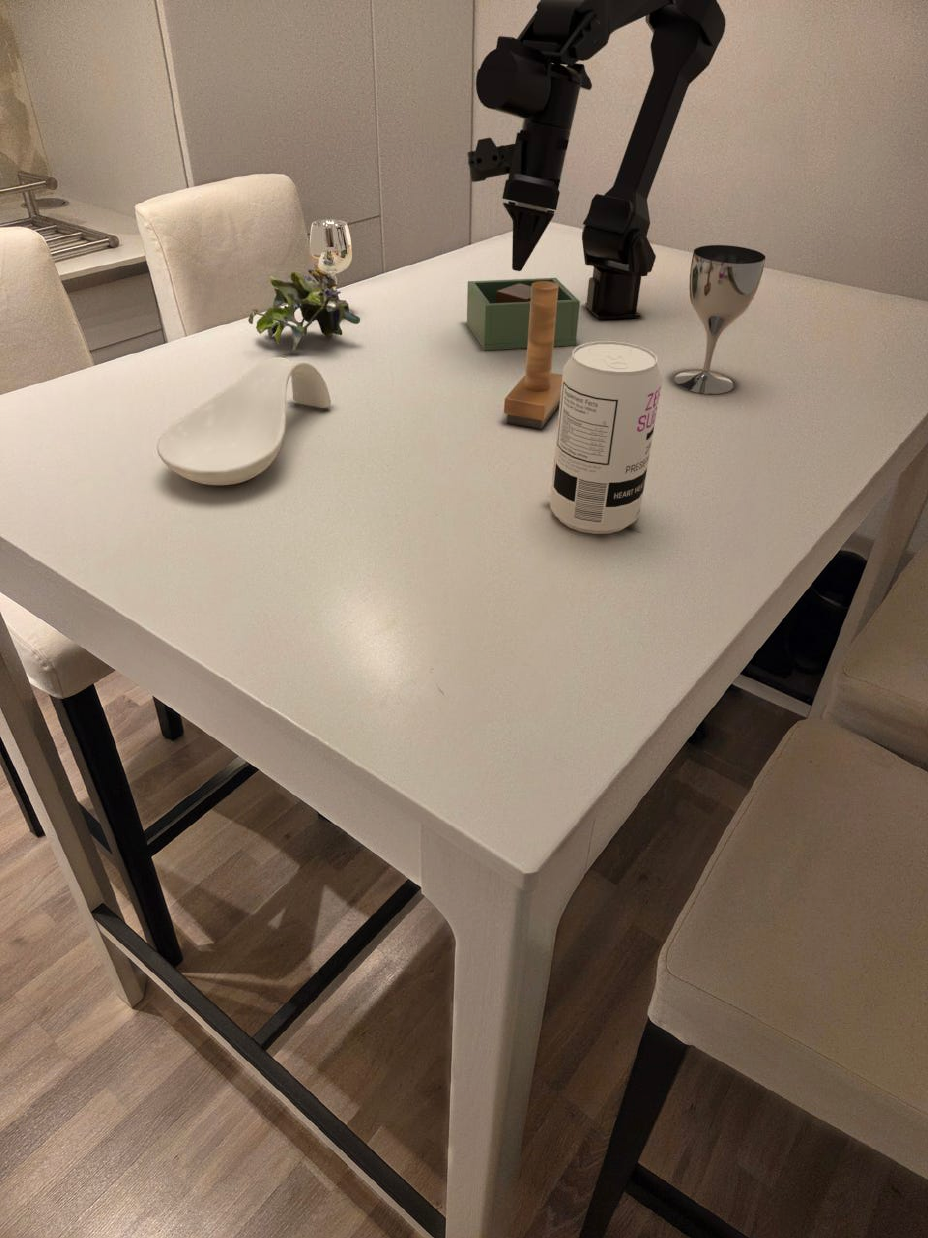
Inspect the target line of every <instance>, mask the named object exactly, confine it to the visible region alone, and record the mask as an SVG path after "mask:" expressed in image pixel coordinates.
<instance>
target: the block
mask: <svg viewBox="0 0 928 1238" xmlns="http://www.w3.org/2000/svg"><path fill="white" fill-rule="evenodd" d="M531 287H532V286H528V285H524V284H520V283H519V284H516V285H513V286H510V287H507V288H504V289H501V290H498V291H497V292H496V303H513V302H530V301H531Z"/></svg>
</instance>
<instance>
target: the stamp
mask: <svg viewBox="0 0 928 1238" xmlns="http://www.w3.org/2000/svg"><path fill="white" fill-rule="evenodd" d="M558 288H559V286H558V284H556V283H554V282H549V281H538V282H534V283H532V287H531V301H530V316H529V330H528V345H527V348H526V359H525V360H526V361H525V373H524V376H523V377H522V378H521V379H520V380H519V381H518V383H517V384H516V385H515V386H514V387H513V388H512V389H511V390H510V392H509V393H508V394H506V396H505V398H504V400H503V401H504V403H503V414H504V415H507V416H506V424H509V425H510V424H511V425H516V426H521V427H527V428H531V429H532V428H533V429H538V430H543V428H544V426H545V425H546V424H547V422H549V421H548V420H549V419H550V418H551V417H552V415H553V414H554V412H555V411H556V409H557V408H558V407H560V397H561V387H562V376H563V374H562V373H561V374H560V373H554V372H552V366H553V356H554V355H553V353H554V347H553V345H554V333H555V322H556V311H557V299H558Z"/></svg>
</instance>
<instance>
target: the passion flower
mask: <svg viewBox="0 0 928 1238" xmlns="http://www.w3.org/2000/svg"><path fill="white" fill-rule="evenodd" d="M307 272H308V274H310V276H309V275H308V276H307V275H304V274H301V273H300V272H299V271H298V270H293V271H291V272H290V275H288V276H287V278H285V280H286V281H283V280H281V279H277V278H275V277H273V276H271V275H270V277H269V281H270V283H271V285H272V287H273V288H274V289H273V290H274V292H275V294H276V295H275V297H274V298H273V303H272V307H270V308H267V310H266V311H265V312H264V313H260V312H259V310H258V309H256V308H252V311H251V312H250V315H249V317H248V319H247V321H248V323H249V324H250V325H253V323H254V317H256V315H258V316H260V318H258V320H257V321H256V326H255V329H256V331H257V332H258V333H259V334H260V335H261V334H262V333H264V332H265V331H267V336H268V337H269V338H272V337H273V335H274V336H275V337H274V338H275V340H276V343H277V344H279V345H280V343H281V337H282V333H283V331H284V329H285V328H286V327H289V328H290V329H291V338H292V342H293V344H292V349H291V352H290V354H289V355H290V356H292V355H294V352H295V350H296V348H297V347H298V344H299V342H300V341H301V340H302V338H303V337H304V336H305V335H306V334H307V333H308V328H309V327H310V326H311V325H312V323H313V322H315V321H317V324H318V327H319V329H320V332H321V334H322V335H324V336H325V337H329V338H331V337H333V334H334V335H339V336H343V329H342V328H341V322H342V321H343V320H346V321H348V322H349V323H351V324H353V325H358V324H360V322H361V317H359V316H357V315H355V314H353V313H352V312H351V311H350V309H349V303H348V302H347V300H345V299H340V297H339V295H340V294H341V293H342V291H341V290H340V291H338V289H336V290H334V289H333V287H335V286H336V287H338V283H337V284H336V281H335V280H334V279H333V278H332V277H331V274H329V273H325V272H323V271H321V270H319V269H318V268H315V270H314V269H311V268H309V269H308V271H307ZM311 276H312V277H313V278H314V279H313V278H312V277H311ZM289 278H290V279H289ZM316 281H317V282H318V284H317V282H316ZM283 304H287V306H286V305H284V307H281V306H282V305H283ZM298 309H299V311H300V314H301V317H302V319H301V321H297V319H296V317H295V312H296V311H297V310H298ZM350 312H351V313H350ZM289 322H290V323H289ZM304 322H307V323H306V324H305V325H304ZM291 323H293V324H291ZM294 324H295V325H294Z"/></svg>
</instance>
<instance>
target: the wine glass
mask: <svg viewBox="0 0 928 1238" xmlns="http://www.w3.org/2000/svg"><path fill="white" fill-rule="evenodd" d="M765 263H766V256H765V254H763V253H762V252H761V251H758V250H755V249H752V248H749V247H744V246H737V245H729V244H709V245H701V246H698V247H696V248H694V250H693V253H692V259H691V263H690V272H689V285H688V287H689V299H690V304H691V306H692V308H693V310H694V312H695V314H696V315H697V316H698V318H699V320H700V321H701V323H702V325H703V327H704V330H705V333H706V347H705V357H704V362H703V367H702V369H701V370H689V371H682V372H680V373H678V374H677V375H675V377H674V383H675V384H676V385H677V386H678V387H680V388H682V389H683V390H687V391H689V392H694V393H696V394H697V393H698V394H703V395H704V394H705V395H719V394H725V393H728V392H730V391H732V390H733V388H734V382H733V381H732V380H731V379H730V378H728V377H726V376H724V375H722V374H719V373H715V372H711V364H712V360H713V356H714V353H715V349H716V346H717V343H718V340H719V338H720V336H721V335H722V334H723V332H724V331H725V330H726V329H727V328H728V327H729V326H730V325H731V324H733V323H734V322H735V321H736V320H737V319H738V318H740V317H741V316H742V315H744V313H745V312H746V311H747V310H748V309H749V307H750V305H751V304H752V302H753V300H754V297H755V296H756V294H757V291H758V289H759V286H760V284H761V279H762V275H763V272H764V268H765Z"/></svg>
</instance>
